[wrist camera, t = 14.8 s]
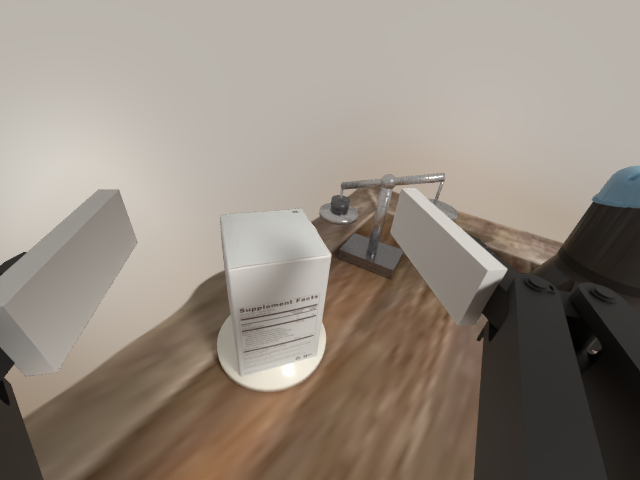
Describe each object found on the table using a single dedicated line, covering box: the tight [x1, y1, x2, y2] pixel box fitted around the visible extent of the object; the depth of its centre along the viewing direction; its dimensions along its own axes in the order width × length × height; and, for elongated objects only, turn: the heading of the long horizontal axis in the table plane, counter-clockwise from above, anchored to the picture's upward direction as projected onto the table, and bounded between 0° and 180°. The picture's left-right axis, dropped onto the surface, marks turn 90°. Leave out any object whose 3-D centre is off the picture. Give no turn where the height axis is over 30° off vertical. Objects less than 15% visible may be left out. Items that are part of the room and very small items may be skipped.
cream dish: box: [217, 315, 326, 393], centre depth 34 cm, size 13×13×1 cm
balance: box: [320, 173, 458, 279], centre depth 46 cm, size 22×7×18 cm, turn 61°
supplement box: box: [220, 208, 331, 377], centre depth 30 cm, size 9×9×15 cm
